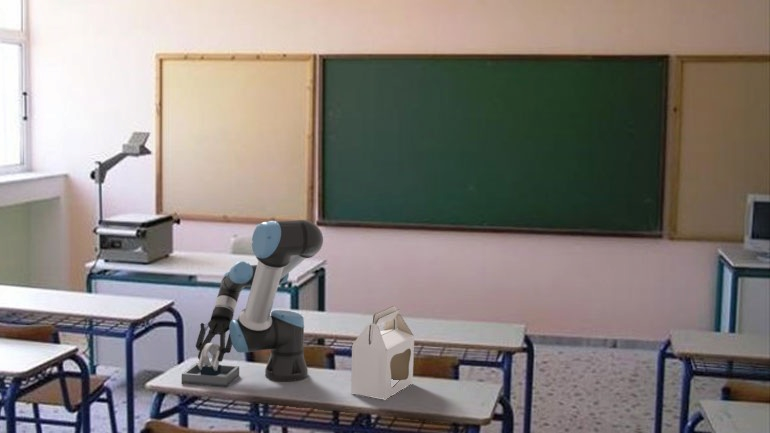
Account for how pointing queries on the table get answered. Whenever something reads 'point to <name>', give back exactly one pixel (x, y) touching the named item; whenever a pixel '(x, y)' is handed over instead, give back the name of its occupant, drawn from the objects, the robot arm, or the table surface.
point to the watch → (208, 365)
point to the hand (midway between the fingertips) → (207, 368)
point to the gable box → (382, 356)
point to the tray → (210, 376)
